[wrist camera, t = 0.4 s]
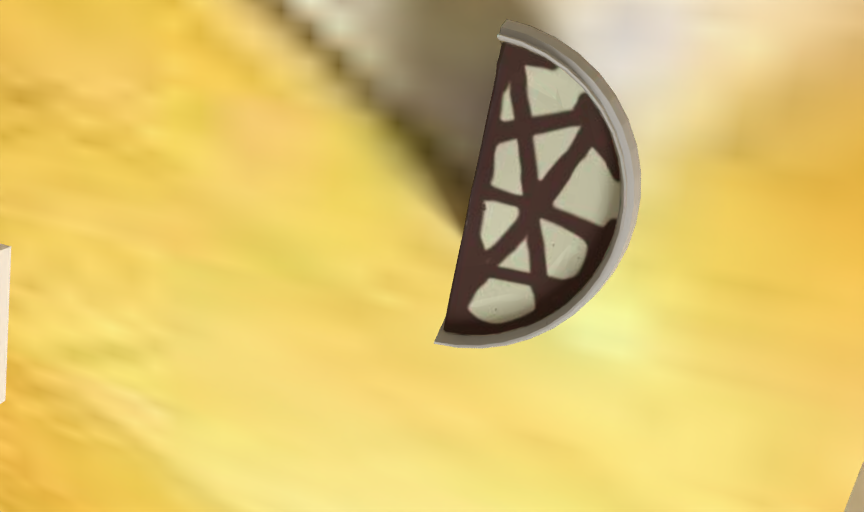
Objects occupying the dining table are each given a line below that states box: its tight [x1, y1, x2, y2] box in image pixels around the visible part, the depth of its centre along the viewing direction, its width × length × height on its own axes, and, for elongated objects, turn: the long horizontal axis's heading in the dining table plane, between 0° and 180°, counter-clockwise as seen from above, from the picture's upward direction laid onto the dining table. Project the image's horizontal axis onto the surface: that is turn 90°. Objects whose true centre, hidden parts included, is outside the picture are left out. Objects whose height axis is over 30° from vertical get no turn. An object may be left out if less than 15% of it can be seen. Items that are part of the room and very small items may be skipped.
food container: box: [434, 19, 641, 348], centre depth 33 cm, size 12×6×10 cm, turn 169°
